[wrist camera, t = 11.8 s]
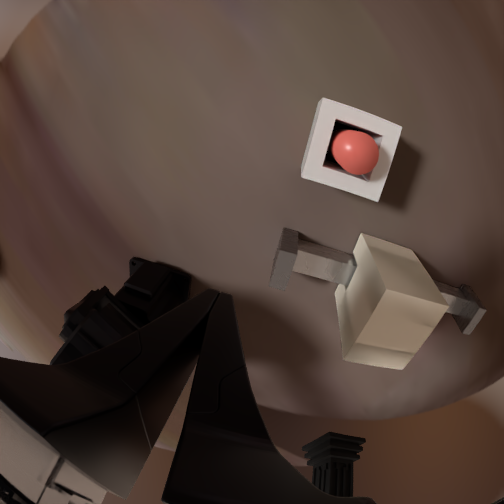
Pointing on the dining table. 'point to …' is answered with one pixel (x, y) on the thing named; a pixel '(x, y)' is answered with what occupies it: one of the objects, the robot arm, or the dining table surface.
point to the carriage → (386, 305)
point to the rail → (343, 268)
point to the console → (333, 173)
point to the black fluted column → (334, 462)
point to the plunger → (354, 151)
